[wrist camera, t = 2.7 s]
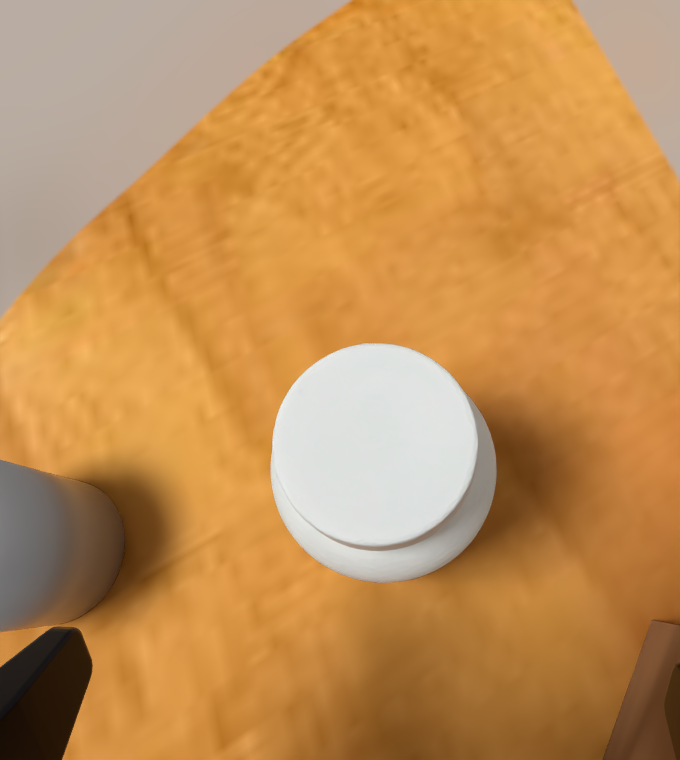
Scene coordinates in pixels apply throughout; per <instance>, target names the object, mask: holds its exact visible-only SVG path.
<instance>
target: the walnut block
mask: <svg viewBox="0 0 680 760" xmlns="http://www.w3.org/2000/svg"><path fill="white" fill-rule="evenodd" d="M679 662H680V625H675V624H670V623H665V622H660V621H654V620H652V621H651V624H650V627H649V630H648V633H647V636H646V638H645V641H644V644H643V647H642V650H641V653H640V655H639V658H638V661H637V664H636V667H635V670H634V672H633V675H632V678H631V681H630V684H629V686H628V689H627V692H626V695H625V698H624V701H623V703H622V706H621V709H620V712H619V715H618V718H617V720H616V723H615V726H614V729H613V732H612V735H611V737H610V740H609V743H608V746H607V749H606V752H605V754H604V757H603V760H676V758H675V754H674V750H673V746H672V742H671V738H670V734H669V730H668V726H667V722H666V718H665V712H664V698H665V694H666V690H667V687H668V683H669V680H670V676H671V673H672V669H673V667H674V665H675V664H677V663H679Z"/></svg>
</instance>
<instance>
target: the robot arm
mask: <svg viewBox="0 0 680 760" xmlns="http://www.w3.org/2000/svg"><path fill="white" fill-rule="evenodd" d="M91 674H92V659H91V656H90V654H89V651H88V648H87V646H86V643H85V641H84V638H83V635H82V633H81V631H80V630H79V629H77V628H74V627H53V628H51V629H49V630H48V631H46V632H45V633H44V634H42V635H41V636H40V637H38V638H37V639H36V640H35V641H33V642H32V643H31V644H29V645H28V646H27V647H26V648H24V649H23V650H22V651H20V652H19V653H18V654H17V655H15V656H14V657H13V658H11V659H10V660H9V661H8V662H6V663H5V664H4V665H2V666H1V667H0V760H62V758H63V755H64V753H65V750H66V747H67V744H68V741H69V738H70V735H71V732H72V730H73V727H74V724H75V721H76V718H77V715H78V712H79V710H80V707H81V704H82V701H83V698H84V695H85V692H86V689H87V687H88V684H89V681H90V678H91ZM664 712H665V718H666V722H667V726H668V730H669V734H670V738H671V742H672V746H673V750H674V754H675V758H676V760H680V662H679V663H677V664H675V665H674V667H673V669H672V673H671V676H670V680H669V683H668V687H667V690H666V694H665V698H664Z"/></svg>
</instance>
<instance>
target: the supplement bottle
mask: <svg viewBox="0 0 680 760" xmlns="http://www.w3.org/2000/svg"><path fill="white" fill-rule="evenodd" d="M496 476H497V469H496V454H495V448H494V444H493V441H492V437H491V434H490V431H489V429H488V426H487V424H486V422H485V420H484V418H483V416H482V414H481V413H480V411H479V409H478V408H477V406H476V405H475V404H474V402H473V401H472V400H471V398H470V397H469V396H468V395H467V394H466V393H465V392H464V390H462V388H461V386H460V385H459V384H458V382H457V381H456V380H455V379H454V377H453V376H452V375H451V374H450V373H449V372H448V371H447V370H446V369H444V368H443V367H442V366H441V365H439V364H438V363H437V362H436V361H434V360H432V359H431V358H429V357H427V356H426V355H424V354H422V353H419V352H417V351H415V350H413V349H409V348H406V347H402V346H398V345H393V344H382V343H368V344H360V345H355V346H350V347H347V348H344V349H341V350H338V351H336V352H334V353H332V354H329V355H328V356H326V357H324V358H323V359H321V360H319V361H318V362H316V363H315V364H314V365H312V366H311V367H310V368H309V369H307V370H306V371H305V372H304V373H303V374H302V375H301V376H300V377H299V378H298V379H297V381H296V382H295V383H294V384H293V386H292V387H291V388H290V390H289V391H288V393H287V395H286V396H285V398H284V400H283V402H282V404H281V407H280V409H279V412H278V415H277V418H276V422H275V427H274V432H273V445H272V456H271V483H272V489H273V495H274V499H275V502H276V505H277V508H278V511H279V513H280V515H281V518H282V520H283V522H284V523H285V525H286V527H287V529H288V530H289V532H290V533H291V535H292V536H293V538H294V539H295V540H296V541H297V543H298V544H299V545H300V546H301V547H302V548H303V549H304V550H305V551H306V552H307V553H308V554H309V555H311V556H312V557H313V558H314V559H316V560H317V561H318V562H320V563H321V564H322V565H324V566H326V567H328V568H329V569H331V570H333V571H335V572H337V573H339V574H342V575H345V576H348V577H351V578H354V579H358V580H363V581H368V582H374V583H391V582H402V581H407V580H411V579H415V578H419V577H422V576H424V575H427V574H429V573H432V572H434V571H436V570H438V569H440V568H441V567H443V566H444V565H446V564H448V563H449V562H451V561H452V560H453V559H454V558H455V557H457V556H458V555H459V554H460V553H462V552H463V551H464V550H465V548H466V547H467V546H468V545H469V544H470V543H471V542H472V540H473V539H474V538H475V536H476V535H477V533H478V532H479V530H480V529H481V527H482V525H483V523H484V521H485V519H486V517H487V515H488V513H489V510H490V507H491V504H492V501H493V497H494V492H495V486H496Z"/></svg>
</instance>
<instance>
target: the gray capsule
mask: <svg viewBox="0 0 680 760" xmlns="http://www.w3.org/2000/svg"><path fill="white" fill-rule="evenodd" d="M124 548H125V534H124V527H123V523H122V520H121V516H120V514H119V512H118V510H117V508H116V506H115V505H114V503H113V502H112V501H111V499H110V498H109V497H108V496H107V495H106V494H105V493H103V492H102V491H101V490H99V489H98V488H96V487H95V486H92V485H90V484H87V483H84V482H80V481H77V480H73V479H69V478H65V477H62V476H58V475H54V474H51V473H47V472H43V471H40V470H36V469H32V468H28V467H25V466H21V465H17V464H14V463H10V462H6V461H3V460H0V632H5V631H13V630H20V629H27V628H35V627H42V626H49V625H56V624H62V623H66V622H69V621H72V620H74V619H76V618H78V617H81V616H82V615H84V614H85V613H87V612H88V611H90V610H91V609H92V608H93V607H95V606H96V605H97V604H98V603H99V602H100V601H101V600H102V599H103V598H104V596H105V595H106V594H107V592H108V591H109V590H110V588H111V587H112V585H113V583H114V582H115V580H116V577H117V575H118V573H119V570H120V567H121V564H122V560H123V555H124Z"/></svg>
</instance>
